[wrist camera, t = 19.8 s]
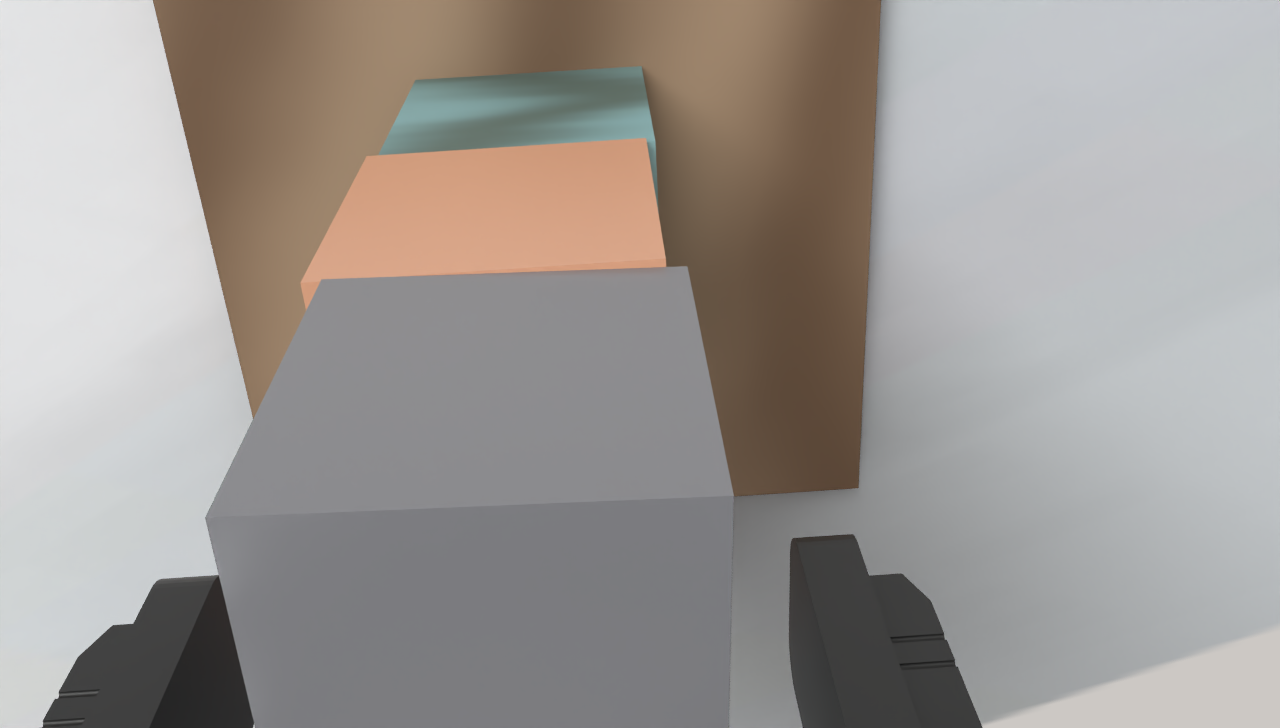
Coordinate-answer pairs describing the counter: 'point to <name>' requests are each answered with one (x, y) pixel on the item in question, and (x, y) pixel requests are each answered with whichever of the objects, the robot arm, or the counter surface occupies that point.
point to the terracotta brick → (495, 213)
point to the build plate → (712, 174)
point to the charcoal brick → (484, 509)
